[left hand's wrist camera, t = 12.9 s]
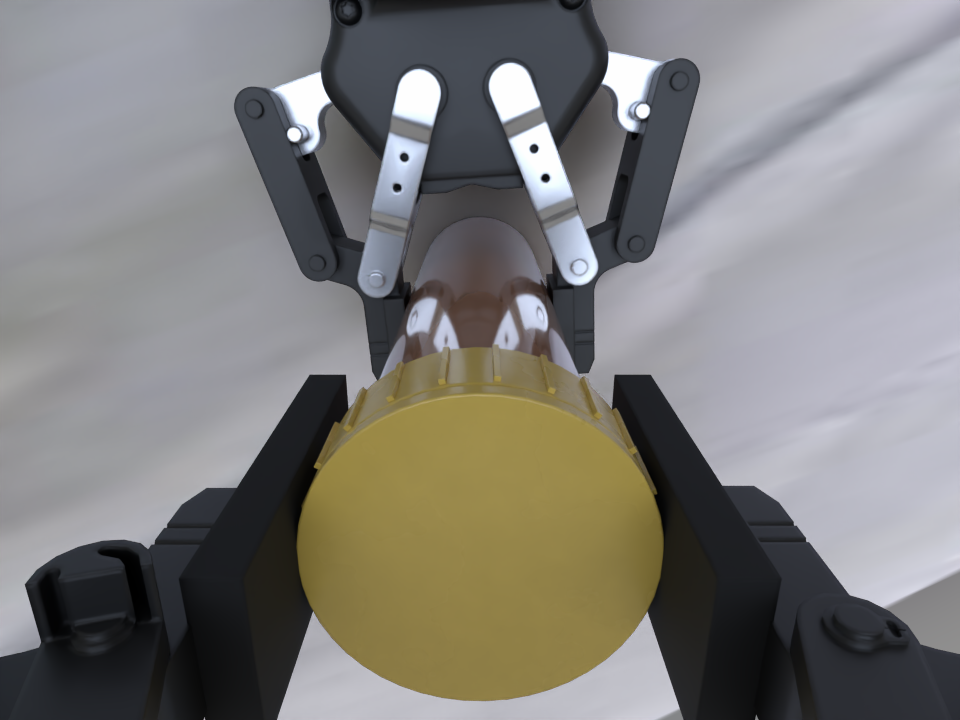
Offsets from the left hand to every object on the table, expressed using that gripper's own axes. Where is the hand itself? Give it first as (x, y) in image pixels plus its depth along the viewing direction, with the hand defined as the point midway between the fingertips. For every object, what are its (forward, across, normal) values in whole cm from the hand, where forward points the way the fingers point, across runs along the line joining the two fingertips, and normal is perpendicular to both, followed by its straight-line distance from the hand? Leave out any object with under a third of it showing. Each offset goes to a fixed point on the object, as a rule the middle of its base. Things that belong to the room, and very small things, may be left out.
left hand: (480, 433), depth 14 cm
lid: (-4, 0, 0) cm, 4 cm away
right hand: (+9, 0, -3) cm, 9 cm away
